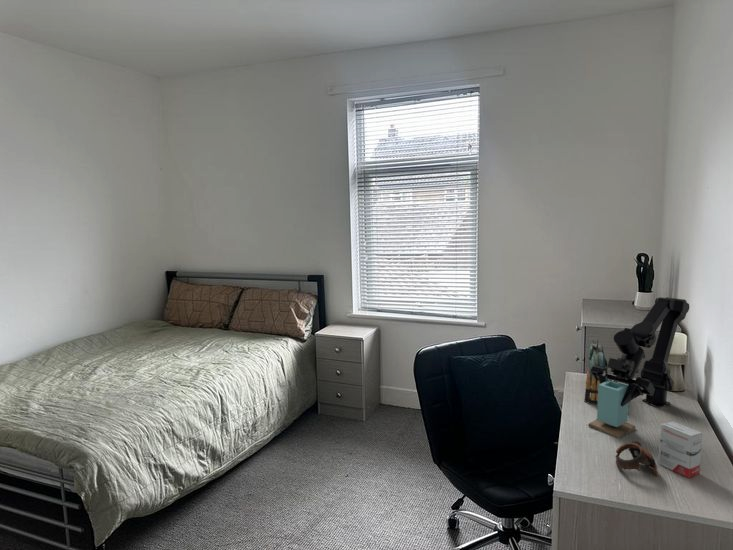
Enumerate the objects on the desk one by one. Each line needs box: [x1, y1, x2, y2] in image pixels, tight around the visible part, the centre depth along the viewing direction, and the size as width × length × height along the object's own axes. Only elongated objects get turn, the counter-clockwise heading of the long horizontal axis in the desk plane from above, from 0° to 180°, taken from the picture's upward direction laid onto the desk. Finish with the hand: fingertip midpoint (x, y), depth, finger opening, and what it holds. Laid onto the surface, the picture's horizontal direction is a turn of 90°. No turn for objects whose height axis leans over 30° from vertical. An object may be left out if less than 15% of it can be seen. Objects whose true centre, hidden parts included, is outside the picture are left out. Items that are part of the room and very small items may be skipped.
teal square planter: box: [596, 380, 629, 427], centre depth 154 cm, size 6×6×12 cm
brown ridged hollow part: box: [615, 440, 659, 477], centre depth 132 cm, size 12×10×8 cm
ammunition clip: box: [584, 369, 617, 405], centre depth 173 cm, size 11×2×12 cm, turn 59°
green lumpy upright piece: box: [587, 339, 608, 385], centre depth 183 cm, size 20×6×20 cm, turn 158°
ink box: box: [657, 420, 703, 479], centre depth 130 cm, size 8×5×12 cm, turn 26°
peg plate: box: [587, 418, 636, 439], centre depth 155 cm, size 10×10×5 cm
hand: (610, 402), depth 153 cm, fingers closed on teal square planter, 6 cm apart
